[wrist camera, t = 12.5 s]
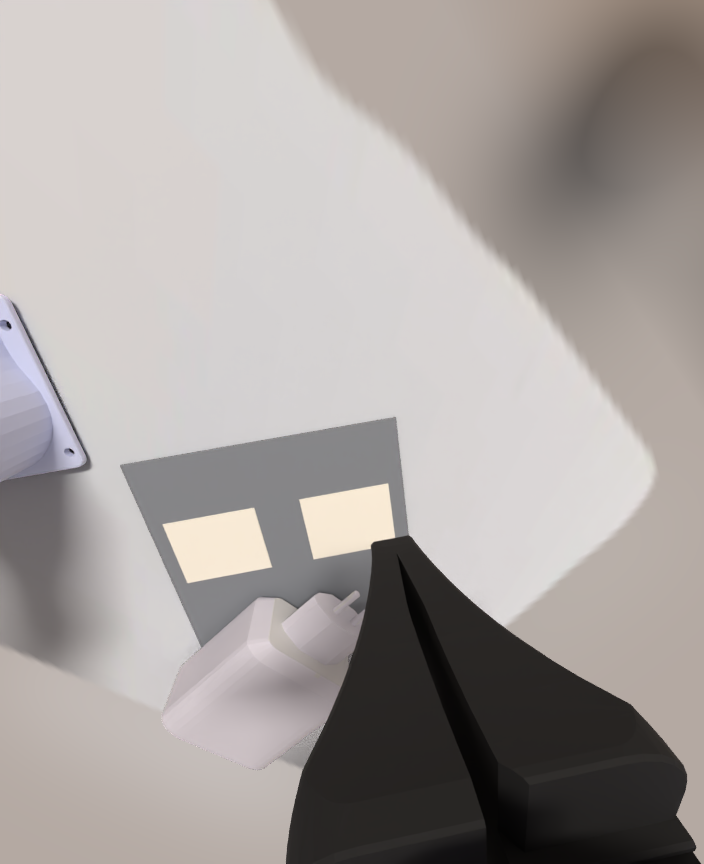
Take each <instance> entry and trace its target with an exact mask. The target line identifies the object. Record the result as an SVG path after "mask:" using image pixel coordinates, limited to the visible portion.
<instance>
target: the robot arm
mask: <svg viewBox="0 0 704 864" xmlns="http://www.w3.org/2000/svg"><path fill="white" fill-rule="evenodd" d="M7 321H8V322H9V323H10V324H11V327H12V328H11V329H9V328H8V326H7ZM69 448H70V449H72V450H73V451H74V454H73V453H71V452H70V451H69ZM86 460H87V458H86V455H85V453H84V451H83V449H82V447H81V445H80V443H79V441H78V439H77V437H76V435H75V433H74V431H73V428H72V426H71V424H70V422H69V420H68V418H67V416H66V414H65V412H64V410H63V408H62V406H61V404H60V402H59V400H58V397H57V395H56V393H55V391H54V389H53V387H52V385H51V383H50V381H49V379H48V377H47V375H46V373H45V371H44V369H43V366H42V364H41V362H40V360H39V358H38V356H37V354H36V352H35V350H34V348H33V346H32V344H31V342H30V340H29V338H28V336H27V333H26V331H25V329H24V327H23V325H22V323H21V321H20V319H19V317H18V315H17V313H16V311H15V309H14V307H13V305H12V303H11V301H10V300H9V298H7V297H6V296H5V295H3V294H0V482H2V481H4V480H9V479H15V478H21V477H26V476H32V475H38V474H44V473H49V472H55V471H61V470H67V469H72V468H78V467H80V466H82V465H84V464H85V463H86ZM371 551H372V566H371V577H370V585H369V592H368V597H367V602H366V607H365V612H364V617H363V621H362V625H361V629H360V632H359V636H358V639H357V643H356V646H355V649H354V652H353V655H352V658H351V661H350V664H349V667H348V670H347V673H346V675H345V678H344V681H343V683H342V686H341V688H340V691H339V693H338V695H337V698H336V700H335V703H334V705H333V707H332V710H331V712H330V715H329V717H328V719H327V721H326V724H325V726H324V728H323V730H322V732H321V734H320V736H319V738H318V740H317V742H316V744H315V746H314V748H313V750H312V752H311V754H310V756H309V758H308V761H307V763H306V765H305V767H304V769H303V771H302V775H301V779H300V783H299V787H298V791H297V795H296V799H295V804H294V808H293V813H292V818H291V824H290V830H289V838H288V844H287V855H286V864H701V863H700V862H699V860H698V859H697V858H696V856H695V854H694V853H693V851H695V849H696V845H695V843H694V841H693V839H692V837H691V836H690V835H689V833H688V832H687V830H686V829H685V828H684V826H683V825H682V823H681V822H680V820H679V819H678V818H677V816H676V813H677V811H678V809H679V806H680V803H681V801H682V798H683V795H684V793H685V790H686V784H687V774H686V771H685V768H684V766H683V764H682V763H681V762H680V760H679V759H678V758H677V757H676V755H675V754H674V753H673V752H672V751H671V749H670V748H669V747H668V746H667V744H666V743H665V742H664V740H663V739H662V738H661V737H660V736H659V735H658V734H657V732H656V731H655V730H654V729H653V728H652V727H651V726H650V725H649V724H648V722H647V721H646V720H645V719H644V718H643V717H642V716H641V715H640V714H639V713H638V712H637V711H636V710H635V709H634V708H633V706H632V705H631V704H629V703H627V702H625V701H623V700H621V699H620V698H617V697H616V696H614V695H612V694H610V693H608V692H607V691H605V690H603V689H601V688H599V687H597V686H595V685H594V684H592V683H590V682H588V681H586V680H584V679H582V678H581V677H579V676H577V675H575V674H574V673H572V672H570V671H569V670H567V669H565V668H564V667H562V666H561V665H559V664H557V663H555V662H554V661H552V660H551V659H549V658H548V657H546V656H545V655H543V654H542V653H540V652H539V651H537V650H536V649H534V648H533V647H531V646H530V645H528V644H527V643H525V642H524V641H522V640H521V639H519V638H518V637H516V636H515V635H514V634H512V633H511V632H510V631H508V630H507V629H506V628H504V627H503V626H502V625H500V624H499V623H498V622H496V621H495V620H494V619H493V618H491V617H490V616H489V615H488V614H486V613H485V612H484V611H483V610H481V609H480V608H479V607H478V606H477V605H475V604H474V603H473V602H472V601H471V600H470V599H469V598H468V597H466V596H465V595H464V594H463V593H462V592H461V591H460V590H459V589H458V588H457V587H456V586H455V585H454V584H453V583H452V582H450V581H449V580H448V578H447V577H446V576H445V575H444V574H443V573H442V572H441V571H440V570H439V569H438V568H437V567H436V566H435V565H434V564H433V563H432V562H431V561H430V559H429V558H428V557H427V556H426V555H425V554H424V553H423V551H422V550H421V549H420V548H419V546H418V545H417V544H416V543H415V541H414V540H413V538H412V537H410V536H409V535H407V536H402V537H397V538H391V539H386V540H381V541H375V542H373V543H372V544H371Z"/></svg>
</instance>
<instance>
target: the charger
mask: <svg viewBox="0 0 704 864" xmlns="http://www.w3.org/2000/svg"><path fill="white" fill-rule="evenodd" d="M359 597H360V594H359V592H358V591H354V592H352V593H351V594H350V595H349V596H348V597H346V598H345V599H344V600H343V601H341V600H339V599H338V598H336V597H335V596H334V595H332V594H325V593H318V594H316V595H314V596H313V597H312V598H311V599H310V600H308V601H307V602H306V603H305V604H304V605H303V606H301V607H300V608H299V609H297V608H295V607H294V606H292V605H291V604H289V603H288V602H286V601H285V600H283V599H281V598H272V597H259V598H257V599H256V600H255V601H254V602H252V603H251V604H250V605H249V606H248V607H247V608H246V609H245V610H243V611H242V612H241V613H240V614H239V615H238V616H237V617H236V618H234V619H233V620H232V621H231V622H230V623H229V624H228V625H227V626H225V627H224V628H223V629H222V630H221V631H220V632H219V633H218V634H216V635H215V636H214V637H213V638H212V639H211V640H210V641H209V642H207V643H206V644H205V645H204V646H203V647H202V648H201V649H200V650H198V651H197V652H196V653H195V654H194V655H193V656H192V657H191V658H189V659H188V660H187V661H186V662H185V663H184V664H183V665H182V666H181V667H180V669H179V671H178V674H177V677H176V679H175V682H174V684H173V687H172V689H171V692H170V694H169V697H168V700H167V702H166V705H165V707H164V710H163V712H162V718H161V720H162V723H163V725H164V727H165V728H166V730H167V731H168V732H169V733H170V734H172V735H173V736H175V737H177V738H178V739H180V740H183V741H185V742H188V743H190V744H192V745H195V746H197V747H199V748H202V749H204V750H206V751H209V752H211V753H213V754H216V755H218V756H221V757H223V758H225V759H228V760H230V761H233V762H235V763H237V764H239V765H242V766H244V767H247V768H249V769H253V770H261V769H263V768H265V767H266V766H268V765H269V764H271V763H272V762H273V761H275V760H276V759H277V758H279V757H280V756H281V755H283V754H284V753H285V752H287V751H288V750H289V749H291V748H292V747H293V746H295V745H296V744H297V743H299V742H300V741H301V740H303V739H304V738H305V737H307V736H308V735H309V734H311V733H312V732H313V731H315V730H316V729H317V728H319V727H320V726H321V725H323V724H324V723H325V722H326V721H327V719H328V717H329V715H330V712H331V710H332V707H333V705H334V703H335V700H336V698H337V695H338V693H339V691H340V688H341V686H342V683H343V681H344V678H345V675H346V673H347V670H348V667H349V662H348V656H349V655H350V654H351V653H353V652H354V649H355V646H356V643H357V639H358V636H359V632H360V629H361V625H362V621H363V617H364V612H365V609H364V610H363V611H362V612H361V613H359V614H357V613H356V612H355V610H354V609H352V608H351V607H349V605H350V604H351V603H352V602H354V601H355V600H356V599H357V598H359Z"/></svg>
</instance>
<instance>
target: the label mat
mask: <svg viewBox="0 0 704 864" xmlns="http://www.w3.org/2000/svg"><path fill="white" fill-rule="evenodd" d="M120 467H121V469H122V471H123V474H124V476H125V478H126V480H127V483H128V485H129V487H130V489H131V491H132V494H133V496H134V498H135V500H136V503H137V505H138V507H139V509H140V512H141V514H142V516H143V518H144V520H145V523H146V525H147V527H148V529H149V532H150V534H151V536H152V538H153V540H154V543H155V545H156V547H157V549H158V552H159V554H160V556H161V558H162V561H163V563H164V565H165V567H166V569H167V572H168V574H169V576H170V578H171V581H172V583H173V585H174V587H175V589H176V592H177V594H178V596H179V598H180V601H181V603H182V605H183V607H184V610H185V612H186V614H187V616H188V618H189V621H190V623H191V625H192V627H193V630H194V632H195V634H196V636H197V639H198V641H199V643H200V645H201V647H203V646H204V645H205V644H206V643H207V642H209V641H210V640H211V639H212V638H213V637H214V636H215V635H216V634H218V633H219V632H220V631H221V630H222V629H223V628H224V627H225V626H227V625H228V624H229V623H230V622H231V621H232V620H233V619H234V618H236V617H237V616H238V615H239V614H240V613H241V612H242V611H243V610H245V609H246V608H247V607H248V606H249V605H250V604H251V603H252V602H254V601H255V600H256V599H257V598H259V597H272V598H281V599H283V600H285V601H286V602H288V603H289V604H291V605H292V606H294V607H295V608H297V609H299V608H300V607H301V606H303V605H304V604H305V603H306V602H307V601H308V600H310V599H311V598H312V597H313V596H314V595H316V594H318V593H325V594H332V595H334V596H335V597H336V598H338V599H339V600H341V601H343V600H344V599H345V598H346V597H348V596H349V595H350V594H351V593H352V592H354V591H358V592H359V594H360V597H359V598H357V599H356V600H355V601H354V602H352V603H351V604H350V605H349V607H351V608H352V609H354V610H355V612H356V613H357V614H359V613H361V612H362V611H363V610H364V609H365V607H366V602H367V597H368V592H369V585H370V577H371V566H372V551H371V544H372V543H373V542H375V541H381V540H386V539H391V538H397V537H402V536H407V535H409V534H408V524H407V515H406V506H405V497H404V488H403V479H402V470H401V460H400V451H399V442H398V433H397V424H396V417H393V418H388V419H382V420H376V421H370V422H365V423H359V424H353V425H347V426H342V427H336V428H330V429H325V430H319V431H313V432H307V433H302V434H296V435H290V436H284V437H279V438H273V439H267V440H261V441H256V442H250V443H244V444H239V445H233V446H227V447H221V448H216V449H210V450H204V451H198V452H193V453H187V454H181V455H176V456H170V457H164V458H158V459H153V460H147V461H141V462H135V463H130V464H124V465H120Z"/></svg>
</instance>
